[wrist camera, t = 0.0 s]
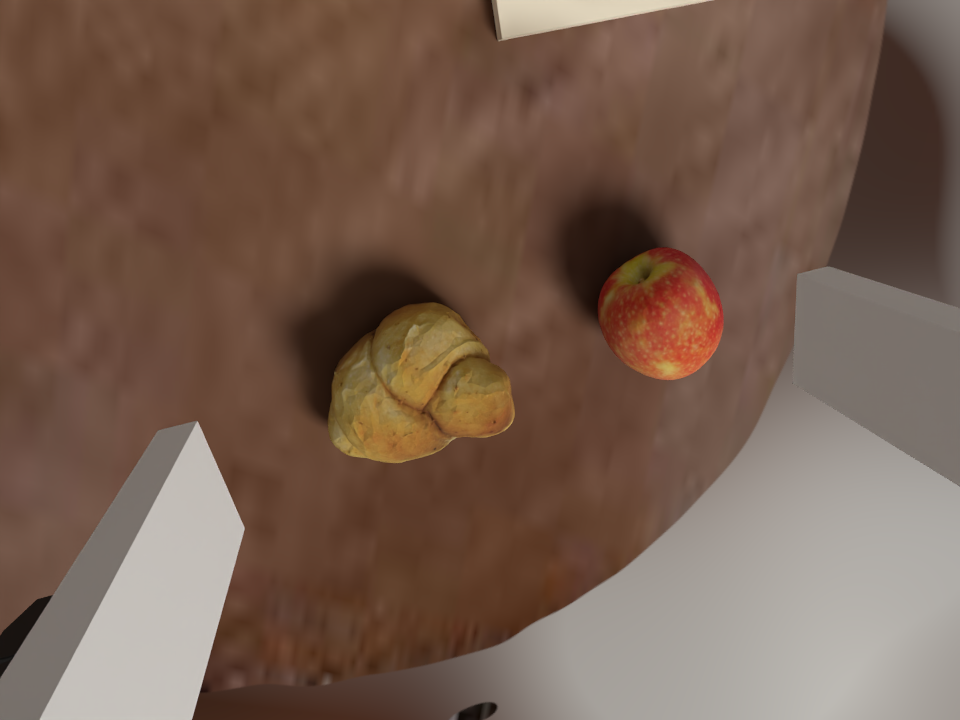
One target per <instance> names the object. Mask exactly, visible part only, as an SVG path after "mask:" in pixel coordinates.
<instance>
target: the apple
mask: <svg viewBox="0 0 960 720" xmlns="http://www.w3.org/2000/svg"><path fill="white" fill-rule="evenodd" d="M598 319H599V323H600V327H601V329H602V332H603V335H604V338H605V340H606V341H607V343H608V345H609V347H610V348H611V350H612V351H613V352H614V353H615V355H616V356H617V357H618V358H619V359H620V360H621V361H622V362H624V363H625V364H626V365H628V366H629V367H631V368H632V369H634V370H636V371H638V372H640V373H642V374H644V375H647V376H650V377H653V378H657V379H662V380H674V379H679V378H683V377H685V376H688V375H690V374H692V373H693V372H695V371H697V370H698V369H699V368H700V367H701V366H703V365H704V364H705V363H706V362H707V361H708V359H709V358H710V357H711V356H712V354H713V353H714V351H715V350H716V348H717V346H718V344H719V341H720V338H721V334H722V330H723V310H722V305H721V301H720V298H719V294H718V292H717V290H716V288H715V286H714V284H713V282H712V281H711V279H710V278H709V276H708V275H707V273H706V272H705V271H704V270H703V268H702V267H701V266H700V265H699V264H698V263H697V262H696V261H695V260H694V259H692V258H691V257H690V256H688V255H687V254H685V253H683V252H681V251H679V250H676V249H672V248H667V247H663V248H655V249H651V250H648V251H646V252H644V253H641V254H639V255H637V256H635V257H634V258H632V259H631V260H629V261H627V262H625V263H624V264H623V265H622V266H621V267H619V268H618V269H616V270H615V271H614V272H613V273H612V274H611V275H610V276H609V278H608V279H607V280H606V282H605V283H604V285H603V287H602V290H601V292H600V296H599V300H598Z"/></svg>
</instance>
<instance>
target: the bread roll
mask: <svg viewBox="0 0 960 720" xmlns="http://www.w3.org/2000/svg"><path fill="white" fill-rule="evenodd" d="M334 374H335V375H334V378H333V382H332V401H331V404H330V411H329V417H328V430H329V436H330V439H331V441H332V443H333V444H334V445H335V446H336V447H337V448H339V449H340V450H341V451H342V452H344V453H345V454H347V455H350V456H354V457H364V458H370V459H372V460H376V461H381V462H389V463H401V462H405V461H407V460H412V459H417V458H421V457H424V456H427V455H431V454H433V453H435V452H438V451H440V450H441V449H442V448H444V447H445V446H446V445H448V444H449V442H450V441H452V440H453V439H455V438H457V437H489V436H492V435H496V434H498V433H500V432H503V431H504V430H506V429H507V428H508V427H509V426H510V425H511V423H512V421H513V419H514V415H515V411H514V404H513V399H512V395H511V385H510V380H509V377H508V376H507V374H506V373H505V371H504V370H502V369H501V368H500V367H499V366H497V365H494V364H492V363H490V356H489V352H488V350H487V349H486V348H485V347H484V346H483V344H482V342H481V341H480V339H479V338H478V337H477V336H476V335H475V334H474V333H473V332H472V331H471V330H470V329H469V327H468V326H467V325H466V324H465V323H464V322H463V320H462V319H461V317H460V315H459V314H457V313H456V312H454V311H453V310H451V309H450V308H448V307H446V306H445V305H442V304H439V303H434V302H431V303H419V304H409V305H406V306H403V307H402V308H400V309H397V310H394V311H393V312H392V313H391V314H389V315H388V316H386V317H385V318H384V319H383V320H382V322H381V323H380V325H379V326H378V328H377V329H375V330H373V331H371V332H370V333H368V334H366V335H365V336H363V337H362V338H361V339H360V340H359V341H358V342H357V343H356V344H355V345H353V347H352V348H351V349H350V350H349V351H348V352H347V353H346V354H345V355H344V356H343V357H342V359H341V360H340V361H339V363H338V364H337V366H336V367H335V372H334Z"/></svg>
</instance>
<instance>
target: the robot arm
mask: <svg viewBox="0 0 960 720" xmlns="http://www.w3.org/2000/svg"><path fill="white" fill-rule="evenodd" d="M793 384H794V385H796V386H798V387H799V388H801V389H803V390H804V391H806V392H807V393H809V394H811V395H812V396H814V397H816V398H817V399H819V400H820V401H822V402H824V403H825V404H827V405H829V406H830V407H832V408H833V409H835V410H837V411H838V412H840V413H841V414H843V415H845V416H846V417H848V418H850V419H851V420H853V421H855V422H856V423H858V424H859V425H861V426H863V427H864V428H866V429H868V430H869V431H871V432H872V433H874V434H876V435H877V436H879V437H881V438H882V439H884V440H885V441H887V442H889V443H890V444H892V445H893V446H895V447H897V448H898V449H900V450H902V451H903V452H905V453H906V454H908V455H910V456H911V457H913V458H915V459H916V460H918V461H920V462H921V463H923V464H924V465H926V466H928V467H929V468H931V469H932V470H934V471H936V472H937V473H939V474H940V475H942V476H944V477H945V478H947V479H949V480H950V481H952V482H954V483H955V484H957V485H958V486H960V308H957V307H954V306H951V305H947V304H944V303H941V302H938V301H935V300H932V299H929V298H926V297H923V296H919V295H916V294H913V293H910V292H907V291H904V290H900V289H897V288H894V287H891V286H888V285H885V284H882V283H879V282H876V281H872V280H869V279H866V278H863V277H860V276H857V275H853V274H851V273H848V272H844V271H841V270H838V269H835V268H832V267H829V266H828V267H824V268H820V269H816V270H812V271H808V272H804V273H800V274H797V294H796V316H795V337H794V359H793ZM244 529H245V528H244V526H243V523H242V521H241V519H240V517H239V514H238V512H237V510H236V507H235V505H234V503H233V501H232V498H231V496H230V494H229V492H228V489H227V487H226V485H225V482H224V480H223V478H222V476H221V473H220V471H219V469H218V467H217V464H216V462H215V460H214V457H213V455H212V453H211V451H210V448H209V446H208V444H207V441H206V439H205V437H204V435H203V432H202V430H201V428H200V426H199V423H198V421H195V422H191V423H187V424H183V425H179V426H174V427H170V428H166V429H162V430H158V432H157V433H156V435H155V436H154V438H153V439H152V441H151V443H150V444H149V446H148V447H147V449H146V450H145V452H144V454H143V455H142V457H141V458H140V460H139V461H138V463H137V465H136V466H135V468H134V469H133V471H132V472H131V474H130V476H129V477H128V479H127V480H126V482H125V483H124V485H123V487H122V488H121V490H120V491H119V493H118V494H117V496H116V497H115V499H114V501H113V502H112V504H111V505H110V507H109V508H108V510H107V512H106V513H105V515H104V516H103V518H102V519H101V521H100V523H99V524H98V526H97V527H96V529H95V530H94V532H93V534H92V535H91V537H90V538H89V540H88V541H87V543H86V545H85V546H84V548H83V549H82V551H81V552H80V554H79V556H78V557H77V559H76V560H75V562H74V563H73V565H72V567H71V568H70V570H69V571H68V573H67V574H66V576H65V578H64V579H63V581H62V582H61V584H60V585H59V587H58V588H57V590H56V592H55V593H54V595H52V596H48V597H44V598H40V599H37V600H36V601H35V602H34V603H33V604H32V605H31V606H30V607H28V608H27V609H26V610H25V611H24V612H23V613H22V614H21V615H20V616H19V617H18V618H17V619H16V620H15V621H14V622H13V623H11V624H10V625H9V626H8V627H7V628H6V629H5V630H4V631H3V633H2V634H1V635H0V720H192V717H193V713H194V710H195V706H196V703H197V699H198V695H199V692H200V688H201V685H202V681H203V677H204V674H205V670H206V667H207V663H208V659H209V656H210V652H211V648H212V645H213V641H214V638H215V634H216V630H217V627H218V623H219V620H220V616H221V612H222V609H223V605H224V601H225V598H226V594H227V591H228V587H229V583H230V580H231V576H232V572H233V569H234V565H235V562H236V558H237V554H238V551H239V547H240V544H241V540H242V536H243V533H244Z"/></svg>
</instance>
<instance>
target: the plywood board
mask: <svg viewBox="0 0 960 720" xmlns="http://www.w3.org/2000/svg"><path fill="white" fill-rule="evenodd" d="M706 1H711V0H492V6H493V13H494V19H495V26H496V33H497V40H498V41H501V40H507V39H512V38H517V37H522V36H528V35H533V34H538V33H543V32H549V31H554V30H559V29H564V28H570V27H575V26H580V25H585V24H591V23H596V22H601V21H606V20H612V19H617V18H622V17H627V16H633V15H638V14H643V13H648V12H654V11H659V10H664V9H669V8H675V7H680V6H685V5H690V4H696V3H701V2H706Z"/></svg>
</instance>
